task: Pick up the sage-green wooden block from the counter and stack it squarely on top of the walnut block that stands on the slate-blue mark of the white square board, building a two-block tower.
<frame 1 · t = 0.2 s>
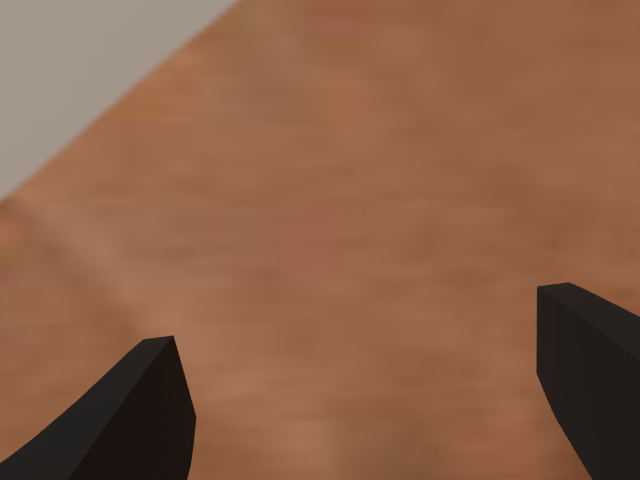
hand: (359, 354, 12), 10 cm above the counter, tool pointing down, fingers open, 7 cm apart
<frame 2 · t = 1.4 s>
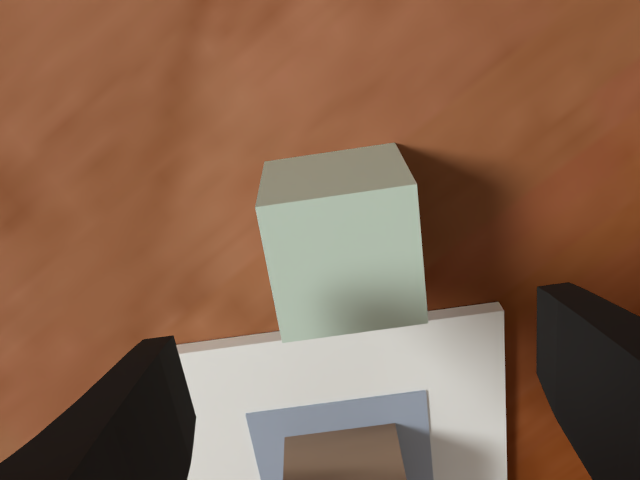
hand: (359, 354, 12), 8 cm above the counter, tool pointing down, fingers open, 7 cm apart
white square board: (345, 458, 23), on the counter
walnut block: (346, 472, 23), point 1 cm above the counter, touching white square board
green block: (337, 212, 19), on the counter
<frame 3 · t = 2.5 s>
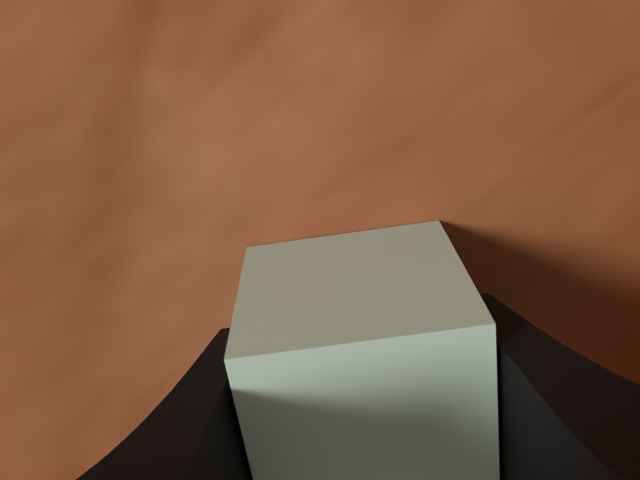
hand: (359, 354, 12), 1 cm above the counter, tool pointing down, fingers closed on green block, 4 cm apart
green block: (353, 316, 13), on the counter, touching gripper
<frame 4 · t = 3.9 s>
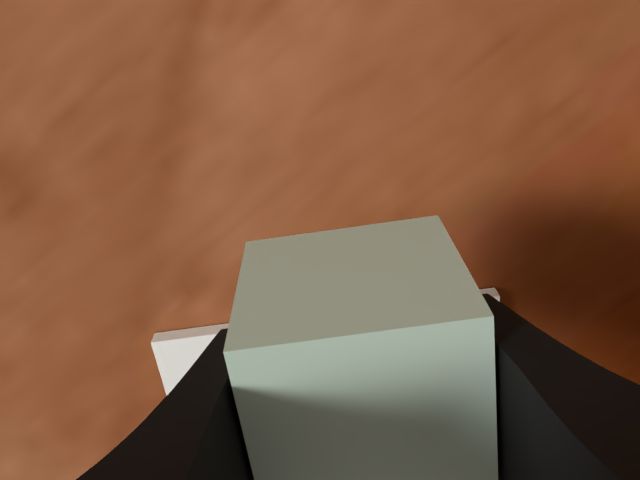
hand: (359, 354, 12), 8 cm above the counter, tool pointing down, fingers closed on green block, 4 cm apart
white square board: (344, 442, 24), on the counter
green block: (352, 311, 13), point 7 cm above the counter, touching gripper
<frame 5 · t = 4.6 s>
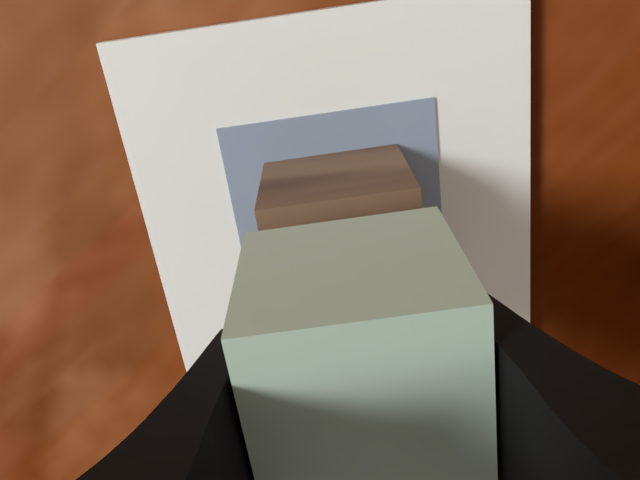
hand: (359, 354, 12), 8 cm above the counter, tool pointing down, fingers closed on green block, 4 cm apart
white square board: (337, 207, 20), on the counter
walnut block: (338, 215, 19), point 1 cm above the counter, touching white square board
green block: (351, 303, 13), point 7 cm above the counter, touching gripper
when the fingers open (7 cm above the counter, at t = 5.2 s): green block stays where it is, resting on walnut block.
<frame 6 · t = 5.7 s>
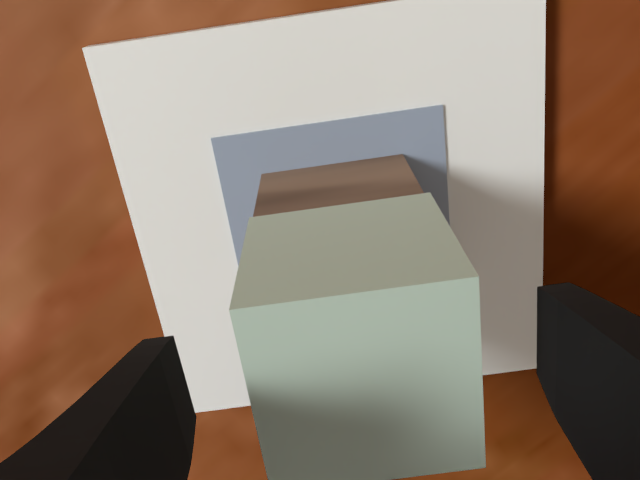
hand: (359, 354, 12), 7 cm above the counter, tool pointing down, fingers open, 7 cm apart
white square board: (339, 220, 19), on the counter
walnut block: (340, 228, 18), point 1 cm above the counter, touching white square board, green block
green block: (349, 284, 14), point 5 cm above the counter, touching walnut block
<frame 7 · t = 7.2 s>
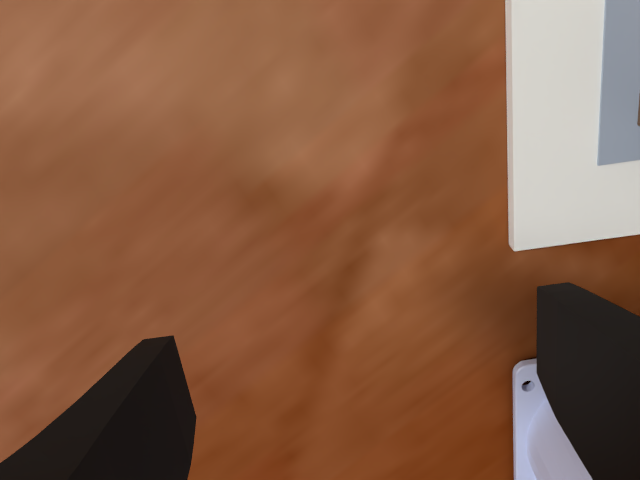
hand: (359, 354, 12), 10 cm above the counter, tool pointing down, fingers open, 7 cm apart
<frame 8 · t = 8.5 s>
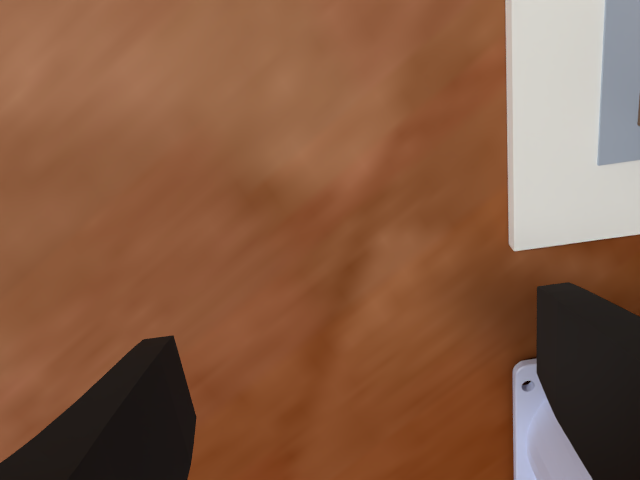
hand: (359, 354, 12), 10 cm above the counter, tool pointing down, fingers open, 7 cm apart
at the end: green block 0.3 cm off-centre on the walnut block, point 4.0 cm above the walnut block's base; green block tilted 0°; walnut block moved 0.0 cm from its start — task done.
